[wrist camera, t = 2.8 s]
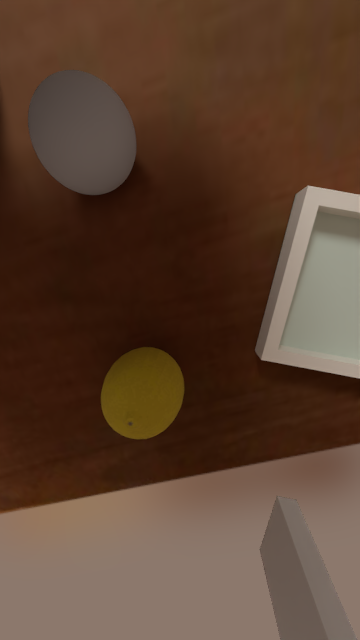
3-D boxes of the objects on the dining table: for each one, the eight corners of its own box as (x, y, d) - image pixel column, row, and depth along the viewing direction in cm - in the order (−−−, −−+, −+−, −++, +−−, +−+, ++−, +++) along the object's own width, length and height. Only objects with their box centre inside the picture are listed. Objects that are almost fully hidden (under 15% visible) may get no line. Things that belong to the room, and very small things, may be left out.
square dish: (254, 350, 21) (261, 359, 19) (295, 194, 18) (308, 185, 16) (400, 378, 21) (421, 390, 19) (463, 224, 18) (496, 219, 16)
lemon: (174, 326, 21) (161, 365, 13) (194, 386, 22) (194, 455, 14) (112, 345, 21) (64, 392, 14) (134, 402, 22) (102, 476, 15)
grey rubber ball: (59, 196, 19) (-1, 167, 13) (65, 104, 18) (1, 25, 12) (138, 210, 19) (113, 187, 13) (150, 119, 17) (128, 47, 12)
